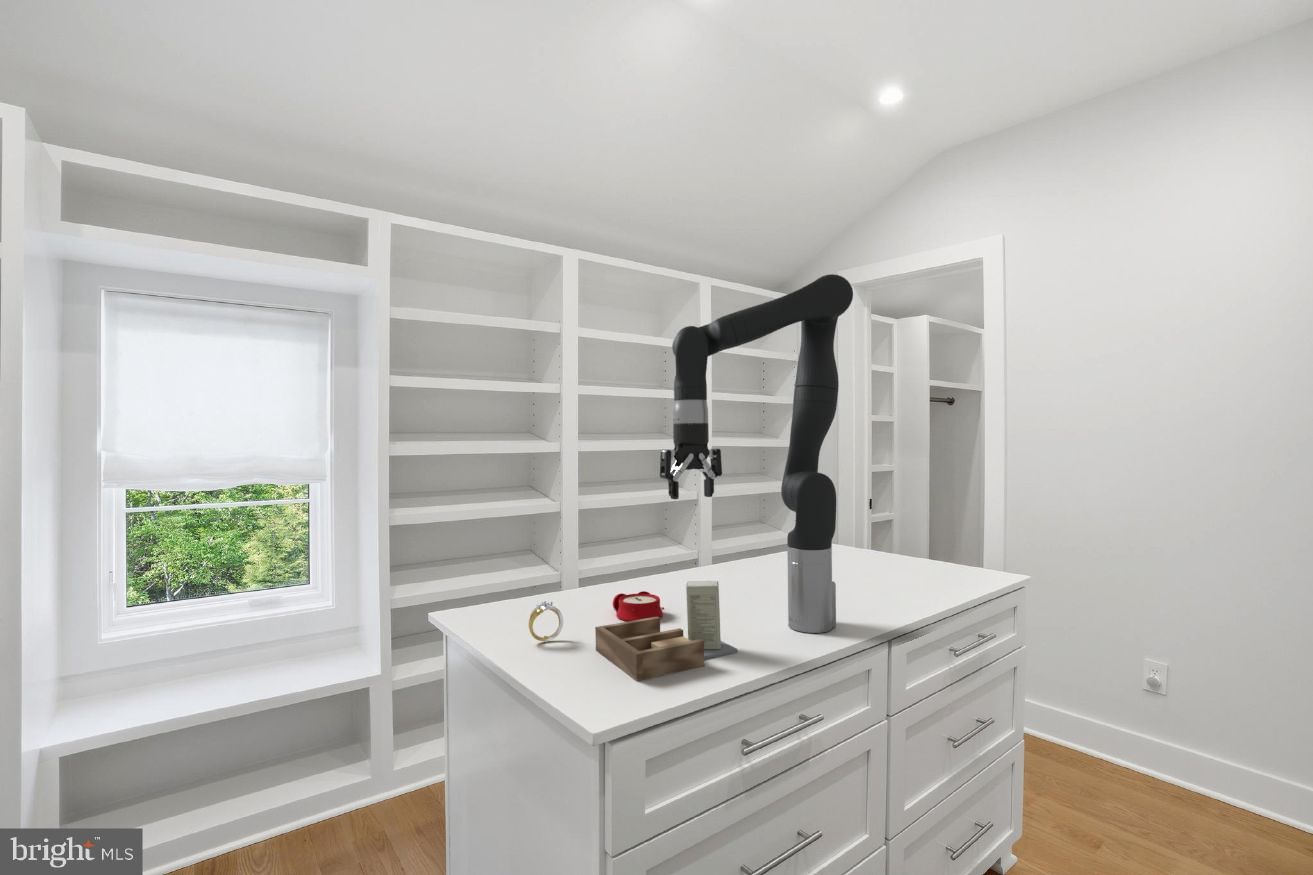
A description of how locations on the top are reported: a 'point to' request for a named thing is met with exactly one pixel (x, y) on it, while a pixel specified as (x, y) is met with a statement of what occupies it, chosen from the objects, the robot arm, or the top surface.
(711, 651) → the slate mat
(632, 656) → the walnut rack
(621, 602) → the alarm clock
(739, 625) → the top surface
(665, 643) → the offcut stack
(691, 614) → the skincare box
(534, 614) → the engagement ring
